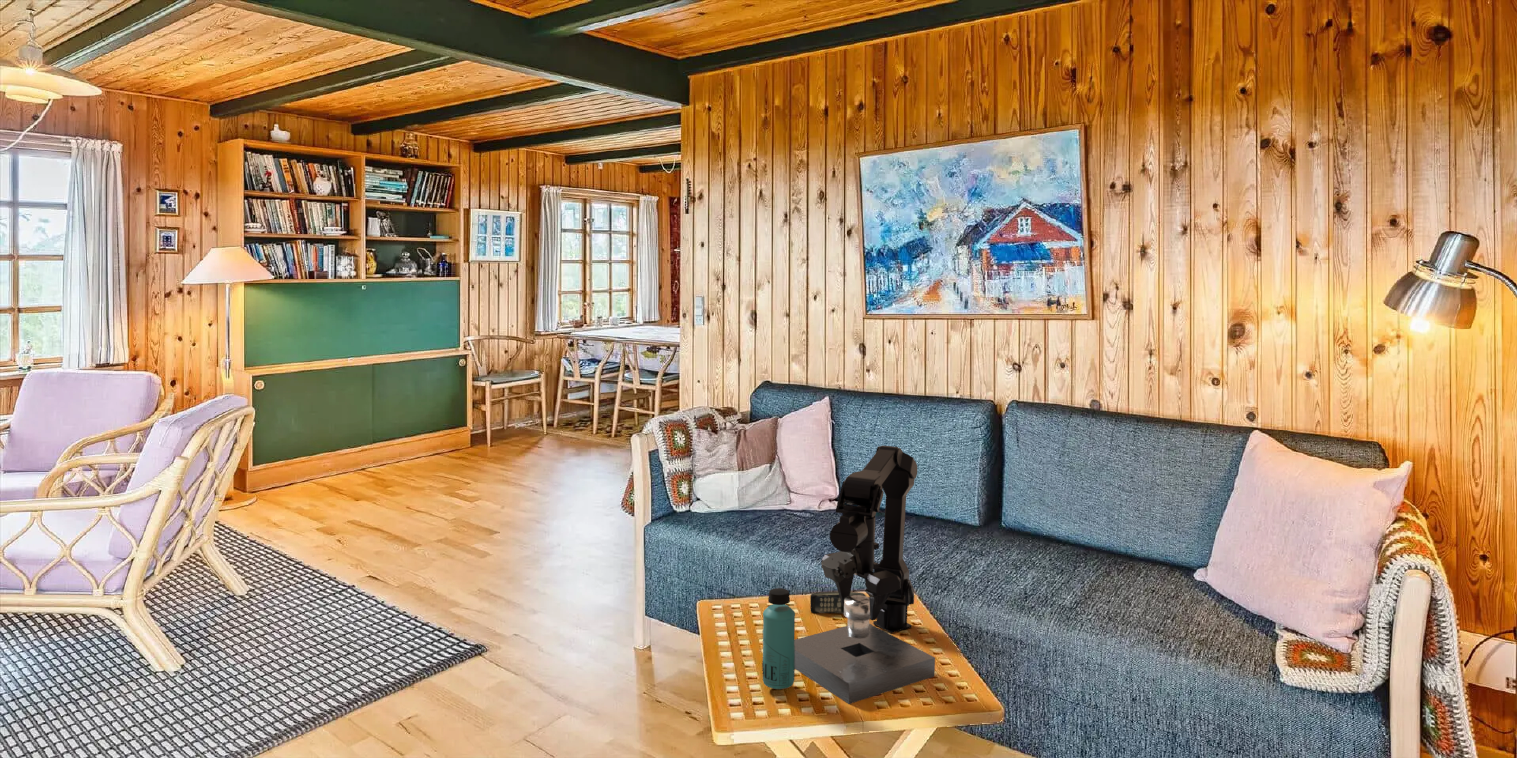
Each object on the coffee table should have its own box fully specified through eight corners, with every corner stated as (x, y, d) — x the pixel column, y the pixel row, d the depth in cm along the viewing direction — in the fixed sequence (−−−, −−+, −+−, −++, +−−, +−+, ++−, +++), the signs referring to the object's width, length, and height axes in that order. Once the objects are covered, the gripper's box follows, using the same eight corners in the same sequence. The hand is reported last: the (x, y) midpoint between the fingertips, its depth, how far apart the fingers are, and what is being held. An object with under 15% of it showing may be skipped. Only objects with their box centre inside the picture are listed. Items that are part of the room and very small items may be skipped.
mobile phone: (810, 595, 209) (873, 594, 209) (809, 590, 212) (871, 589, 212) (810, 615, 210) (873, 614, 210) (809, 610, 213) (871, 609, 213)
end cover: (860, 626, 184) (861, 592, 183) (879, 636, 179) (879, 601, 178) (837, 632, 180) (838, 598, 180) (856, 642, 175) (856, 607, 175)
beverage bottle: (799, 684, 173) (800, 586, 171) (789, 699, 167) (790, 598, 165) (767, 679, 175) (768, 582, 173) (756, 694, 169) (757, 593, 167)
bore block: (864, 638, 196) (864, 621, 195) (934, 676, 177) (935, 657, 177) (782, 660, 184) (783, 642, 183) (849, 704, 165) (849, 684, 165)
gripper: (801, 532, 181) (799, 605, 183) (858, 557, 165) (857, 636, 167) (843, 524, 187) (842, 595, 189) (903, 547, 171) (901, 624, 173)
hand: (858, 612), depth 179 cm, fingers open, 9 cm apart
